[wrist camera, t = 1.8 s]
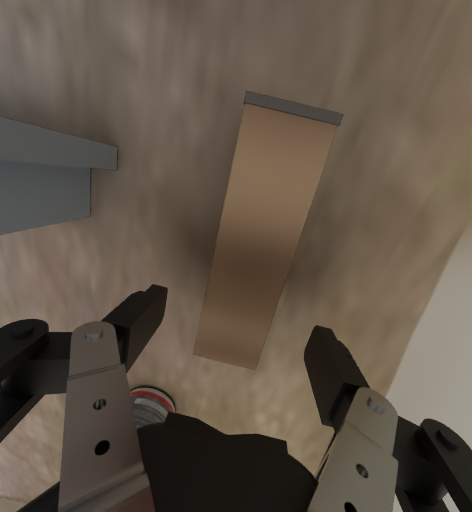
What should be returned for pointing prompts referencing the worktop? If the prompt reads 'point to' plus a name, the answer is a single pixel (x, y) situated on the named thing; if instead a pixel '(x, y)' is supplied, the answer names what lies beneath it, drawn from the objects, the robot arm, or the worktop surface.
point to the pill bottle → (150, 406)
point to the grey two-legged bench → (46, 175)
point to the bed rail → (261, 223)
